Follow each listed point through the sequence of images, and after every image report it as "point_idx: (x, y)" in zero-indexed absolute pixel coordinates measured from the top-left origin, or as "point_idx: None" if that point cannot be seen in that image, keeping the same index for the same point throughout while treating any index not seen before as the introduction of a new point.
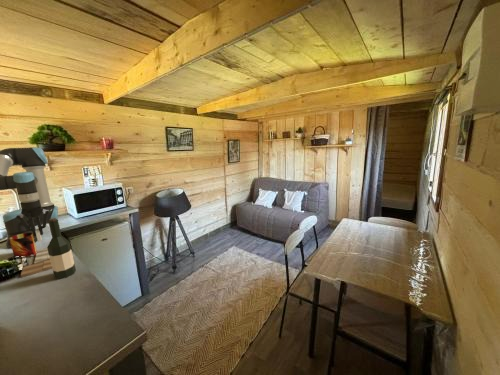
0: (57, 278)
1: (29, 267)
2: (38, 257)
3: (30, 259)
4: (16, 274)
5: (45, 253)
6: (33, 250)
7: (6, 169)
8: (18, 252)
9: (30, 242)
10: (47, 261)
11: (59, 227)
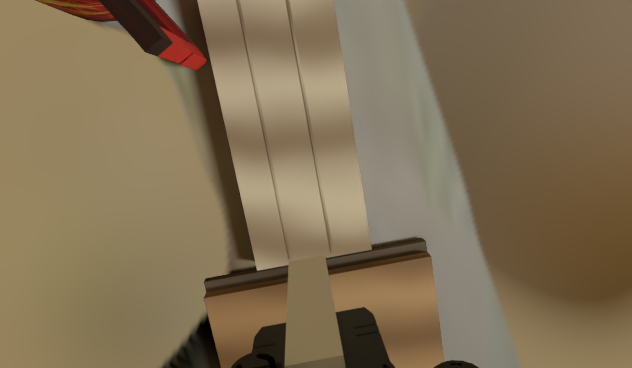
0: None
1: (250, 334)
2: (257, 177)
3: (186, 115)
4: (189, 342)
5: (289, 115)
6: (186, 63)
7: None
8: (48, 4)
9: (144, 45)
10: (344, 298)
11: None
